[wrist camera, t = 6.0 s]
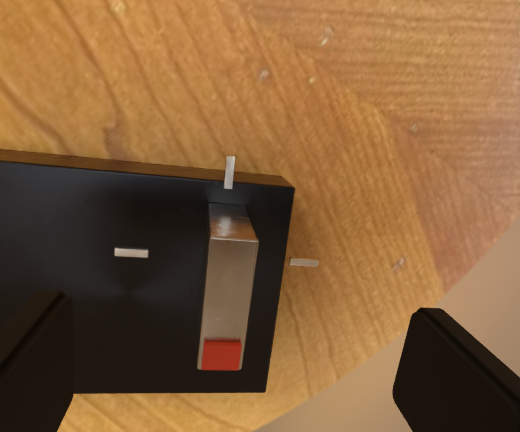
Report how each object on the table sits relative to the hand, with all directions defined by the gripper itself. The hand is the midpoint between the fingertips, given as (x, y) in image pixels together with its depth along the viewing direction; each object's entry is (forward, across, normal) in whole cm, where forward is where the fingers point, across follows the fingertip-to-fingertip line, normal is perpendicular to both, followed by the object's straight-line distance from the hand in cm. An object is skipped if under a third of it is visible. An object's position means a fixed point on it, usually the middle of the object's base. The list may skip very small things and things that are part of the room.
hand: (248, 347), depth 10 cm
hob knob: (+7, +1, 0) cm, 7 cm away
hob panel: (+10, +5, +2) cm, 11 cm away
